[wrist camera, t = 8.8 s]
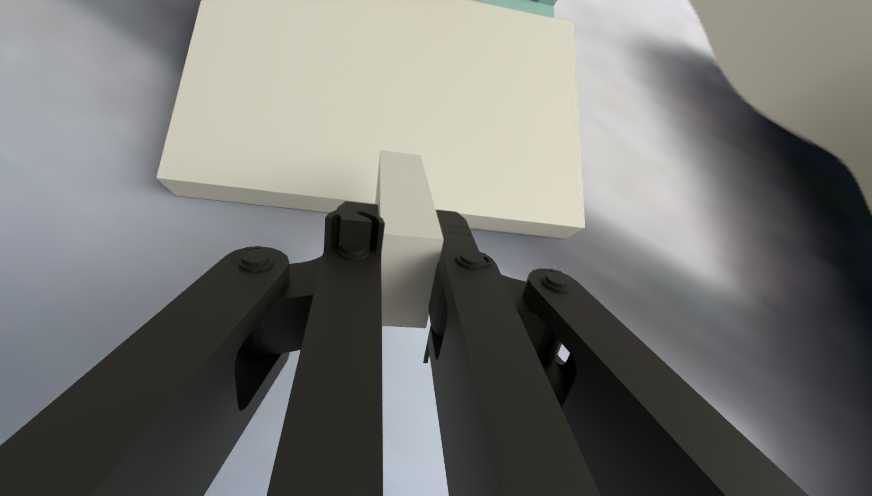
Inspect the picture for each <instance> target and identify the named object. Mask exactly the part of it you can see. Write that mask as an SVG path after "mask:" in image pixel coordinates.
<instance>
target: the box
mask: <svg viewBox="0 0 872 496" xmlns="http://www.w3.org/2000/svg"><path fill="white" fill-rule="evenodd" d="M471 1H476V2H480V3H485V4H489V5H494V6H499V7H503V8H508V9H513V10H517V11H522V12H527V13H531V14H536V15H541V16H545V17H550V18H554V7H553V6H554V4H555V2H556V1H557V0H471Z"/></svg>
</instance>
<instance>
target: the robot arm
mask: <svg viewBox="0 0 872 496" xmlns="http://www.w3.org/2000/svg"><path fill="white" fill-rule="evenodd" d="M428 315H430V322H431V326H430V331H429V336H428V341H427V345H426V350H425V355H424V361H423V363H428V358H429V356H430V361H431V368H432V376H433V383H434V390H435V397H436V405H437V412H438V419H439V426H440V434H441V441H442V448H443V456H444V463H445V470H446V477H447V485H448V492H449V496H809V495H807V494H806V493H805V492H804V491H803V490H802V489H801V488H800V487H799V486H798V485H797V484H796V483H794V482H793V481H792V480H791V479H790V478H789V477H788V476H787V475H786V474H785V473H784V472H783V471H782V470H780V469H779V468H778V467H777V466H776V465H775V464H774V463H773V462H772V461H771V460H770V459H769V458H767V457H766V456H765V455H764V454H763V453H762V452H761V451H760V450H759V449H758V448H757V447H756V446H754V445H753V444H752V443H751V442H750V441H749V440H748V439H747V438H746V437H745V436H744V435H743V434H741V433H740V432H739V431H738V430H737V429H736V428H735V427H734V426H733V425H732V424H731V423H730V422H729V421H727V420H726V419H725V418H724V417H723V416H722V415H721V414H720V413H719V412H718V411H717V410H716V409H714V408H713V407H712V406H711V405H710V404H709V403H708V402H707V401H706V400H705V399H704V398H703V397H701V396H700V395H699V394H698V393H697V392H696V391H695V390H694V389H693V388H692V387H691V386H690V385H688V384H687V383H686V382H685V381H684V380H683V379H682V378H681V377H680V376H679V375H678V374H677V373H675V372H674V371H673V370H672V369H671V368H670V367H669V366H668V365H667V364H666V363H665V362H664V361H663V360H661V359H660V358H659V357H658V356H657V355H656V354H655V353H654V352H653V351H652V350H651V349H650V348H648V347H647V346H646V345H645V344H644V343H643V342H642V341H641V340H640V339H639V338H638V337H637V336H635V335H634V334H633V333H632V332H631V331H630V330H629V329H628V328H627V327H626V326H625V325H624V324H622V323H621V322H620V321H619V320H618V319H617V318H616V317H615V316H614V315H613V314H612V313H611V312H610V311H608V310H607V309H606V308H605V307H604V306H603V305H602V304H601V303H600V302H599V301H598V300H597V299H595V298H594V297H593V296H592V295H591V294H590V293H589V292H588V291H587V290H586V289H585V288H584V287H582V286H581V285H580V284H579V283H578V282H577V281H576V280H574V279H573V278H571V277H570V276H568V275H566V274H564V273H562V272H561V271H558V270H556V271H555V270H554V269H536V270H533V271H532V272H531V273H529V276H528V279H527V282H525V281H521V280H517V279H513V278H510V277H507V276H504V275H501V273H500V271H499V269H498V267H497V265H496V263H495V262H494V260H493V259H492V258H490V257H489V256H487V255H486V254H484V253H482V252H479V250H478V248H477V245H476V243H475V240H474V238H473V236H472V233H471V230H470V229H469V226H468V223H467V221H466V219H465V218H464V217H463V216H461V215H460V214H459V213H458V212H455V211H445V210H436V209H435V206H434V202H433V199H432V195H431V191H430V188H429V184H428V181H427V177H426V173H425V170H424V166H423V162H422V159H421V155H414V154H406V153H399V152H391V151H383V150H380V159H379V169H378V179H377V189H376V198H375V204H368V203H359V202H349V201H345V202H344V203H343V204H341V205H340V206H338V207H337V210H335V211H333V212H330V213H329V214H328V215H327V216H326V218H325V238H324V252H323V255H322V256H321V257H319V258H317V259H314V260H311V261H307V262H302V263H293V264H289V260H288V257H287V256H286V255H285V254H284V253H282V252H281V251H279V250H276V249H273V248H268V247H261V246H255V247H253V246H252V247H246V248H243V249H239V250H236V251H233V252H232V253H230V254H228V255H226V256H225V257H224V258H223V259H221V260H220V261H219V262H218V263H217V264H215V265H214V266H213V267H212V268H211V269H209V270H208V271H207V272H206V273H205V274H204V275H202V276H201V277H200V278H199V279H198V280H196V281H195V282H194V283H193V284H192V285H191V286H189V287H188V288H187V289H186V290H185V291H183V292H182V293H181V294H180V295H179V296H177V297H176V298H175V299H174V300H173V301H172V302H170V303H169V304H168V305H167V306H166V307H164V308H163V309H162V310H161V311H160V312H159V313H157V314H156V315H155V316H154V317H153V318H151V319H150V320H149V321H148V322H147V323H145V324H144V325H143V326H142V327H141V328H140V329H138V330H137V331H136V332H135V333H134V334H132V335H131V336H130V337H129V338H128V339H126V340H125V341H124V342H123V343H122V344H121V345H119V346H118V347H117V348H116V349H115V350H113V351H112V352H111V353H110V354H109V355H108V356H106V357H105V358H104V359H103V360H102V361H100V362H99V363H98V364H97V365H96V366H94V367H93V368H92V369H91V370H90V371H89V372H87V373H86V374H85V375H84V376H83V377H81V378H80V379H79V380H78V381H77V382H76V383H74V384H73V385H72V386H71V387H70V388H68V389H67V390H66V391H65V392H64V393H62V394H61V395H60V396H59V397H58V398H57V399H55V400H54V401H53V402H52V403H51V404H49V405H48V406H47V407H46V408H45V409H43V410H42V411H41V412H40V413H39V414H38V415H36V416H35V417H34V418H33V419H32V420H30V421H29V422H28V423H27V424H26V425H25V426H23V427H22V428H21V429H20V430H19V431H17V432H16V433H15V434H14V435H13V436H11V437H10V438H9V439H8V440H7V441H6V442H4V443H3V444H2V445H1V446H0V496H204V494H205V493H206V491H207V489H208V488H209V486H210V485H211V483H212V481H213V480H214V478H215V476H216V475H217V473H218V472H219V470H220V468H221V467H222V465H223V464H224V462H225V460H226V459H227V457H228V456H229V454H230V452H231V451H232V449H233V447H234V446H235V444H236V443H237V441H238V439H239V438H240V436H241V435H242V433H243V431H244V430H245V428H246V426H247V425H248V423H249V422H250V420H251V418H252V417H253V415H254V414H255V412H256V410H257V409H258V407H259V405H260V404H261V402H262V401H263V399H264V397H265V396H266V394H267V393H268V391H269V389H270V388H271V386H272V385H273V383H274V381H275V380H276V378H277V376H278V375H279V373H280V372H281V370H282V368H283V367H284V365H285V364H286V362H287V360H288V357H289V354H290V352H292V351H297V350H301V351H300V355H299V359H298V364H297V368H296V372H295V376H294V381H293V385H292V389H291V394H290V398H289V402H288V407H287V411H286V415H285V419H284V424H283V428H282V432H281V437H280V441H279V445H278V449H277V454H276V458H275V462H274V467H273V471H272V475H271V479H270V484H269V488H268V492H267V496H383V429H382V326H396V327H415V328H426V325H427V320H428ZM562 344H563V345H564V347H565V348H566V349H567V350H568V351H569V352H570V355H569V357H568V359H567V361H566V362H564V361H563V360H562V359H561V358H560V357H559V356H558V355H557V354H558V352H559V350H560V347H561V345H562Z"/></svg>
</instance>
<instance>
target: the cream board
mask: <svg viewBox="0 0 872 496" xmlns="http://www.w3.org/2000/svg"><path fill="white" fill-rule="evenodd" d="M380 150H383V151H391V152H399V153H406V154H414V155H421V159H422V162H423V166H424V170H425V173H426V177H427V181H428V184H429V188H430V191H431V195H432V199H433V202H434V206H435V209H436V210H445V211H455V212H458V213H459V214H460V215H461V216H463V217H464V218H465V219H466V221H467V223H468V226H469V228H472V229H481V230H490V231H499V232H509V233H518V234H527V235H536V236H545V237H554V238H563V239H566V238H568V237H570V236H571V235H573V234H575V233H577V232H579V231H580V230H582V229H584V228H585V222H584V203H583V185H582V167H581V149H580V130H579V112H578V94H577V75H576V57H575V39H574V23H573V22H568V21H564V20H559V19H554V18H550V17H545V16H541V15H536V14H531V13H527V12H522V11H517V10H513V9H508V8H503V7H499V6H494V5H489V4H485V3H480V2H476V1H471V0H201V3H200V7H199V11H198V15H197V19H196V23H195V27H194V31H193V35H192V38H191V42H190V46H189V50H188V54H187V58H186V62H185V66H184V70H183V74H182V78H181V82H180V86H179V90H178V94H177V98H176V102H175V106H174V110H173V114H172V118H171V122H170V126H169V130H168V134H167V137H166V141H165V145H164V149H163V153H162V157H161V161H160V165H159V169H158V173H157V177H156V178H157V179H158V180H159V181H160V182H161V183H162V184H163V185H164V186H166V187H167V188H168V189H169V190H170V191H171V192H172V193H173V194H174V195H175V196H183V197H193V198H202V199H211V200H220V201H229V202H238V203H247V204H256V205H265V206H274V207H283V208H292V209H301V210H310V211H319V212H328V213H330V212H333V211H335V210H337V207H338V206H340V205H341V204H343V203H344V202H345V201H349V202H359V203H368V204H375V198H376V189H377V179H378V169H379V159H380Z"/></svg>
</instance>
